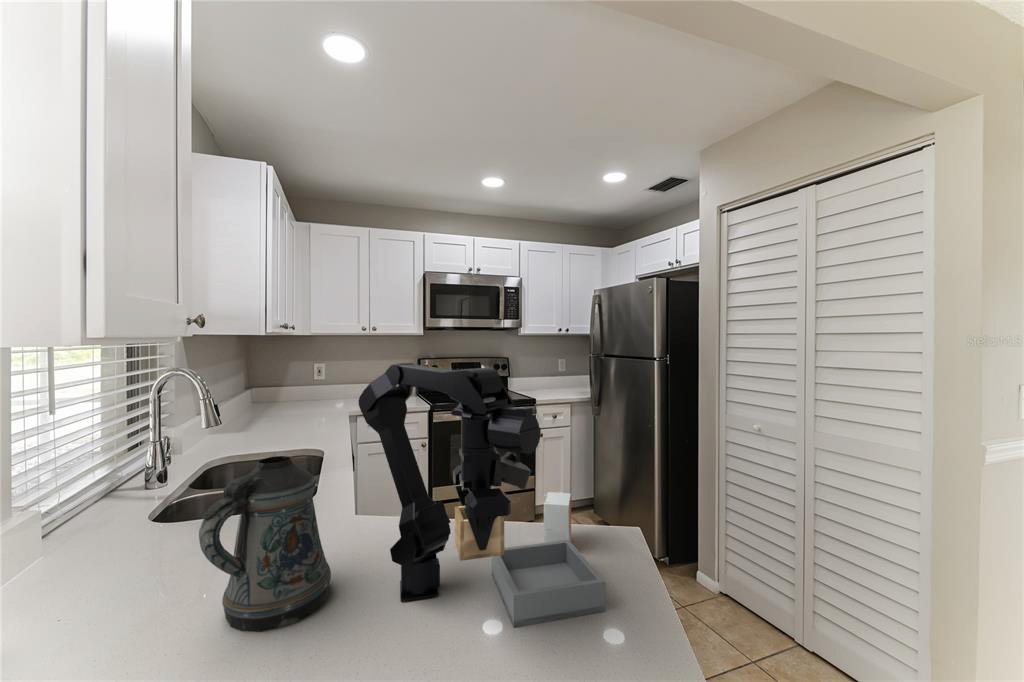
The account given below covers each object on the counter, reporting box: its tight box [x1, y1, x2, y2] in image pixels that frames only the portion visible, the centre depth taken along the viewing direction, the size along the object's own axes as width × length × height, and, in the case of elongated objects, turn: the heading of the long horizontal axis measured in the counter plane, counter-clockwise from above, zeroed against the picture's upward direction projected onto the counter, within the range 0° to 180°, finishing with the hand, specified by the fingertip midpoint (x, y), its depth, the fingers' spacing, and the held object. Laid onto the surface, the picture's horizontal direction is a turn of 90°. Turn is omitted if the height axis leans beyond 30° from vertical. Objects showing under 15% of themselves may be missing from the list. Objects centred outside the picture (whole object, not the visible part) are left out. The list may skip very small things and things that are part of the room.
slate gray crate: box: [491, 540, 606, 628], centre depth 78 cm, size 16×16×5 cm
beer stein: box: [198, 455, 332, 633], centre depth 74 cm, size 16×19×25 cm
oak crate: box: [454, 505, 505, 562], centre depth 70 cm, size 7×6×6 cm
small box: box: [543, 491, 572, 543], centre depth 96 cm, size 8×6×10 cm
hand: (478, 540), depth 70 cm, fingers closed on oak crate, 6 cm apart
